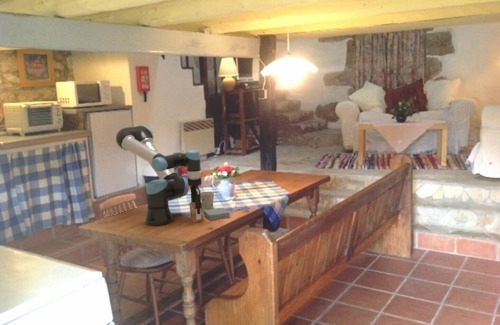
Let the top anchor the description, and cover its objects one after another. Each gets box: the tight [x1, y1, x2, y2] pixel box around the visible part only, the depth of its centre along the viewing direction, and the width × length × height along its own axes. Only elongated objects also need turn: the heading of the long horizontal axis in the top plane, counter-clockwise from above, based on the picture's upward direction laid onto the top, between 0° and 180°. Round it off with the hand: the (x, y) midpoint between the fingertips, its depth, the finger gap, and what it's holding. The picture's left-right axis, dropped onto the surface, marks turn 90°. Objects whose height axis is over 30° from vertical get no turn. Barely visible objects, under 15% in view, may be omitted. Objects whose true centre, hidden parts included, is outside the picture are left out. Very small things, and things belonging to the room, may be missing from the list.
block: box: [189, 201, 205, 223], centre depth 268 cm, size 6×6×10 cm
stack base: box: [203, 207, 231, 221], centre depth 274 cm, size 12×12×3 cm
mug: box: [200, 191, 215, 211], centre depth 291 cm, size 8×13×10 cm, turn 78°
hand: (197, 217), depth 269 cm, fingers closed on block, 6 cm apart
